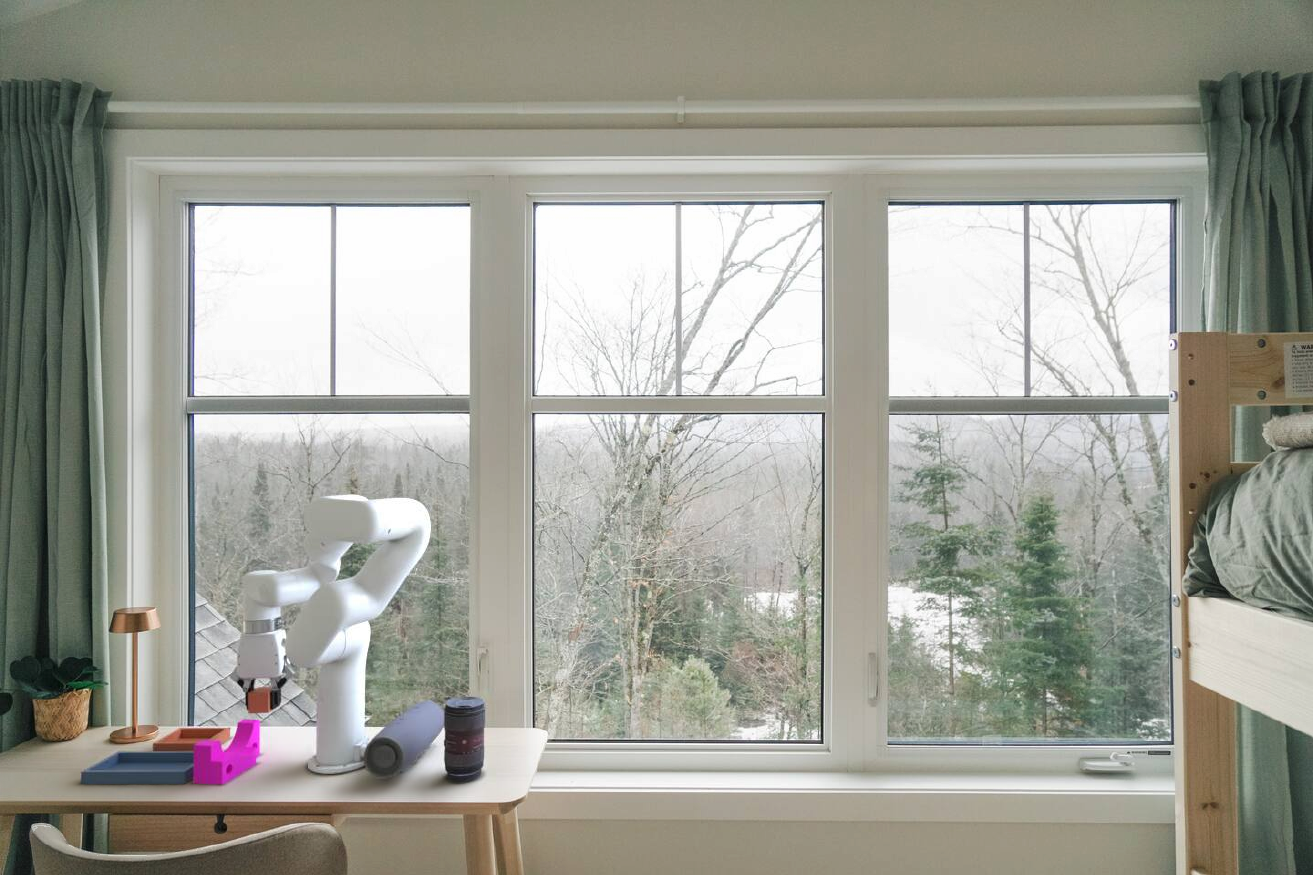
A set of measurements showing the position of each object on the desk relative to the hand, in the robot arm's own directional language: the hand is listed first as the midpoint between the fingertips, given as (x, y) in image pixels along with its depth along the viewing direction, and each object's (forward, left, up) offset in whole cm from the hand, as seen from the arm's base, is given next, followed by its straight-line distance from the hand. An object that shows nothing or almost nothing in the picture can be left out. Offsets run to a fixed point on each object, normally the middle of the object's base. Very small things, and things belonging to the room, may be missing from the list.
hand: (263, 707), depth 173 cm
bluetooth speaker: (-35, +10, -9) cm, 38 cm away
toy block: (0, +13, -9) cm, 15 cm away
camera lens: (-49, +17, -9) cm, 53 cm away
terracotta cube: (0, 0, -1) cm, 1 cm away
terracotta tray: (+16, 0, -9) cm, 18 cm away
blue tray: (+16, +15, -9) cm, 23 cm away
